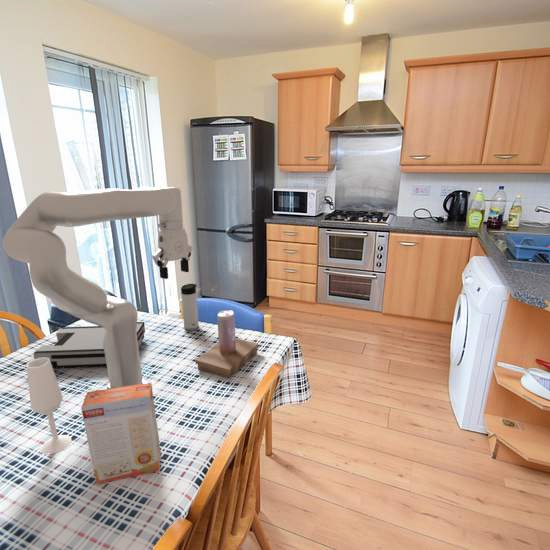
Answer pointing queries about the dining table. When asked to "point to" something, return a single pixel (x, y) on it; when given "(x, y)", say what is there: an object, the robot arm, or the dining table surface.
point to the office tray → (80, 347)
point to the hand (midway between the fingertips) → (174, 274)
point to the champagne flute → (46, 399)
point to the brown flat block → (227, 359)
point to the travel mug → (189, 307)
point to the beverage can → (226, 332)
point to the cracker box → (122, 432)
